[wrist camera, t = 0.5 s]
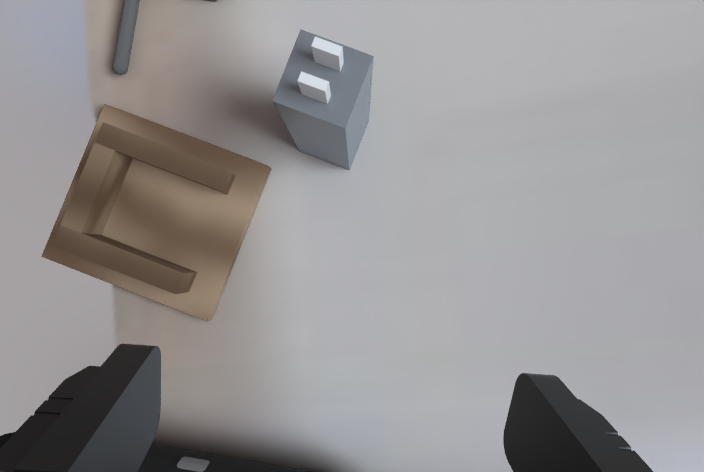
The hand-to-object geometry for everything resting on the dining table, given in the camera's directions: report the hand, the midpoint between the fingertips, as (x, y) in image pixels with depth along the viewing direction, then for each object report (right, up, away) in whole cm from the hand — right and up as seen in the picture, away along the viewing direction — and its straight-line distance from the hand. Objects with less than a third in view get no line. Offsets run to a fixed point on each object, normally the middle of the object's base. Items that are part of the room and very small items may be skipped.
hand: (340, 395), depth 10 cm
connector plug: (-1, +11, +24) cm, 27 cm away
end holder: (-14, +5, +24) cm, 28 cm away
